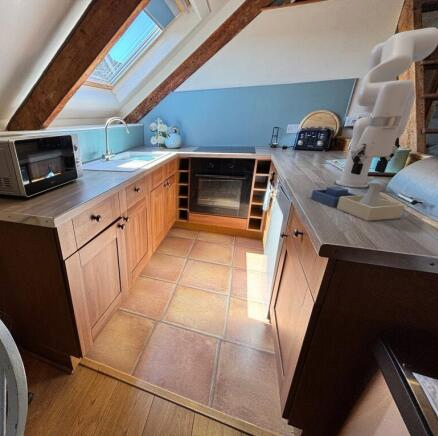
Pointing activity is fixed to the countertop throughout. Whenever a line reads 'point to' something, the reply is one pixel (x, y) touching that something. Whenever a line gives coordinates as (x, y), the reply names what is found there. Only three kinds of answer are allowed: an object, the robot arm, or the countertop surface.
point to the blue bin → (327, 197)
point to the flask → (372, 196)
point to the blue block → (336, 192)
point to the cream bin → (370, 208)
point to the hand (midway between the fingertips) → (367, 173)
